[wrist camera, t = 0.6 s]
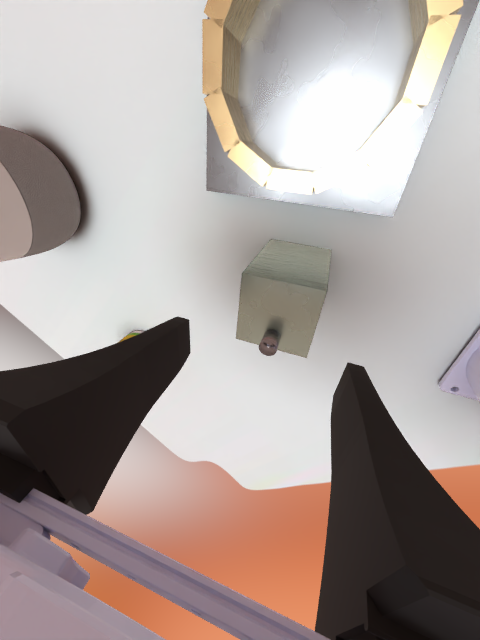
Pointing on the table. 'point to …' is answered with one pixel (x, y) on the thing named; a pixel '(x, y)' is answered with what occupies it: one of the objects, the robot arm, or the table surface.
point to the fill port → (324, 95)
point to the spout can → (283, 297)
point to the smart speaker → (33, 197)
